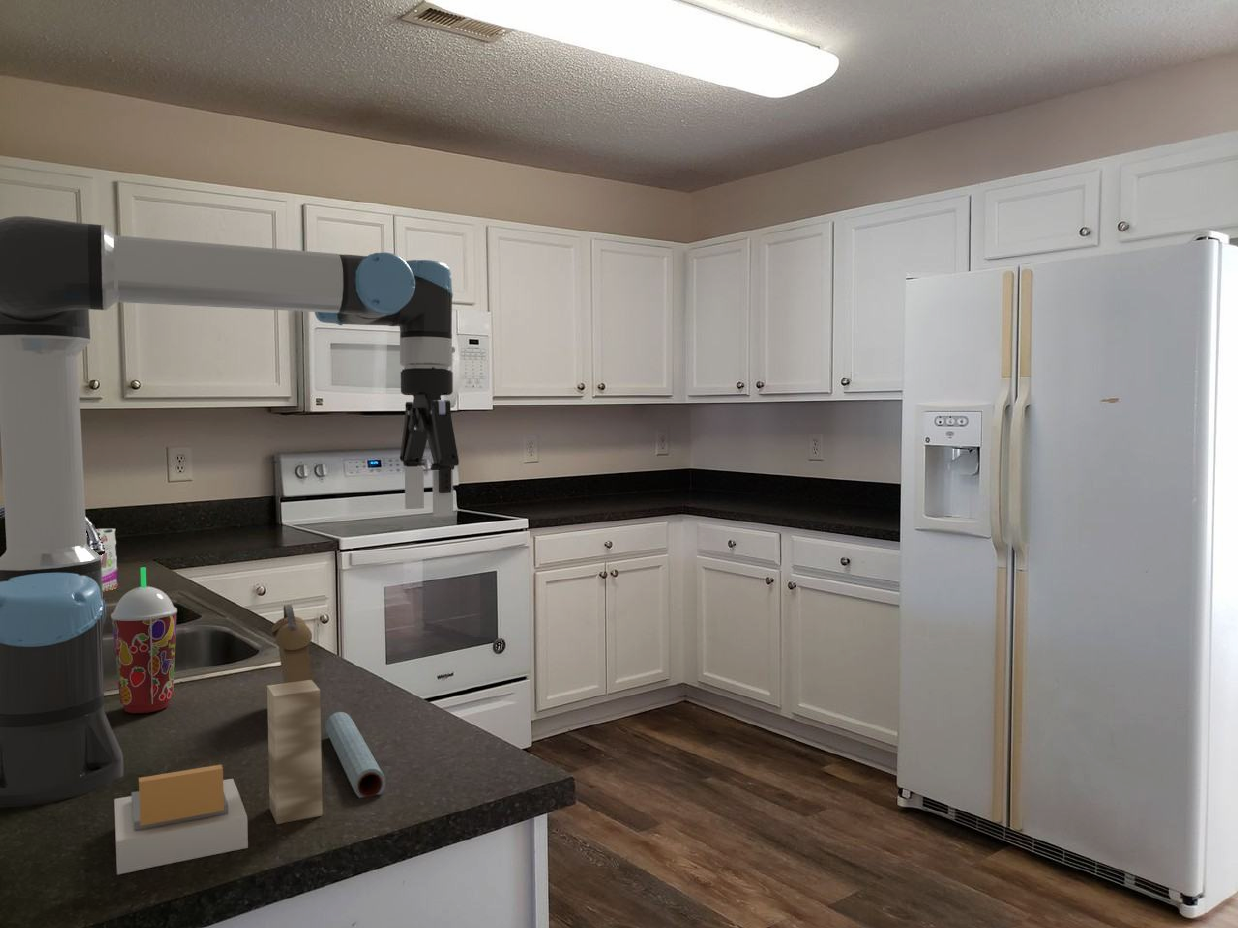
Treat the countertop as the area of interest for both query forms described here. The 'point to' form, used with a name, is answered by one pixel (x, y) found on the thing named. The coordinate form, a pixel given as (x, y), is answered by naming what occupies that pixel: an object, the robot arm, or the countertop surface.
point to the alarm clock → (293, 646)
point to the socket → (179, 835)
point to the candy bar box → (108, 558)
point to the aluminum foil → (355, 756)
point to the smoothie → (144, 648)
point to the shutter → (179, 797)
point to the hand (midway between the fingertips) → (428, 512)
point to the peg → (294, 751)
